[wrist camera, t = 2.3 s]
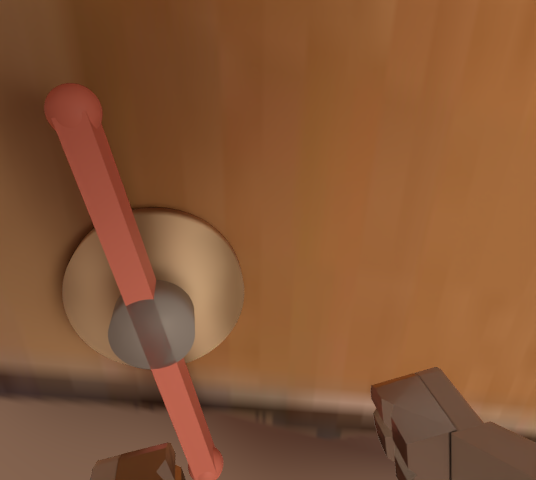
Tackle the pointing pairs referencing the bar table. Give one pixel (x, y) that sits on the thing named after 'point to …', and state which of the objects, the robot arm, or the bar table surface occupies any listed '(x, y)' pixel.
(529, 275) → the bar table surface
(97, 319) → the round tan disc
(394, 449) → the robot arm
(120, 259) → the pink rod with bead
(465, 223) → the bar table surface
